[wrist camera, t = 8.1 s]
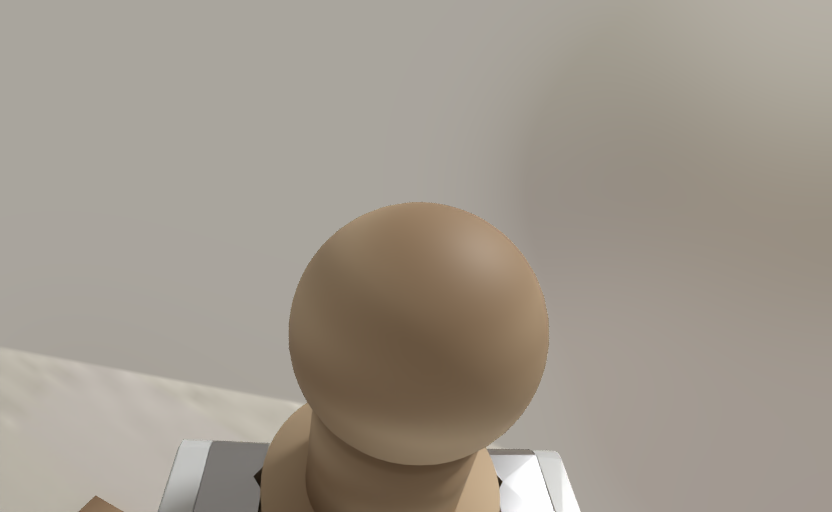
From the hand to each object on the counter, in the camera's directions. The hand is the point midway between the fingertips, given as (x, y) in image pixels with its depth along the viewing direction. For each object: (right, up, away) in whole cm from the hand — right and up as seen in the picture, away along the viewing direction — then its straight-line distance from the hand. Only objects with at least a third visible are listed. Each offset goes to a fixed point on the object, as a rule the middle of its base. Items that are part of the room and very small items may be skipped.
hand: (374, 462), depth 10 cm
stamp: (-1, -6, +3) cm, 7 cm away
